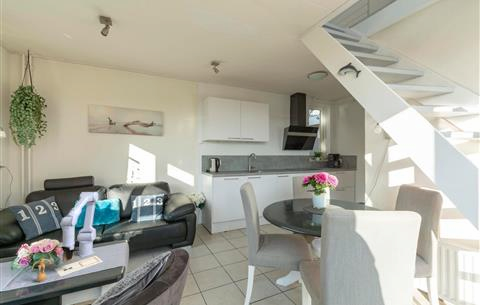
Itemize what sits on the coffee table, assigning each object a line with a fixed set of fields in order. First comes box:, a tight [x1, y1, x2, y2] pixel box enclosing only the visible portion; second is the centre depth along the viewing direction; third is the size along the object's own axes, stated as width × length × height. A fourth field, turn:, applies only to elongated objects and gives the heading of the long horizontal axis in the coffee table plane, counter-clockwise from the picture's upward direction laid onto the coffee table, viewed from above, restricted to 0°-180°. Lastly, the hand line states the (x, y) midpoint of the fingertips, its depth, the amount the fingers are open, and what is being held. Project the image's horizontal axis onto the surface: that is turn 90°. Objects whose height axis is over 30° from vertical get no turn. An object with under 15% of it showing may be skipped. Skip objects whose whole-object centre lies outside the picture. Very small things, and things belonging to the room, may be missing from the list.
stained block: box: [62, 251, 75, 263], centre depth 130 cm, size 4×4×5 cm
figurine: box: [31, 257, 52, 282], centre depth 119 cm, size 8×6×12 cm
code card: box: [54, 255, 104, 277], centre depth 134 cm, size 13×22×1 cm, turn 142°
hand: (68, 258), depth 130 cm, fingers closed on stained block, 4 cm apart
